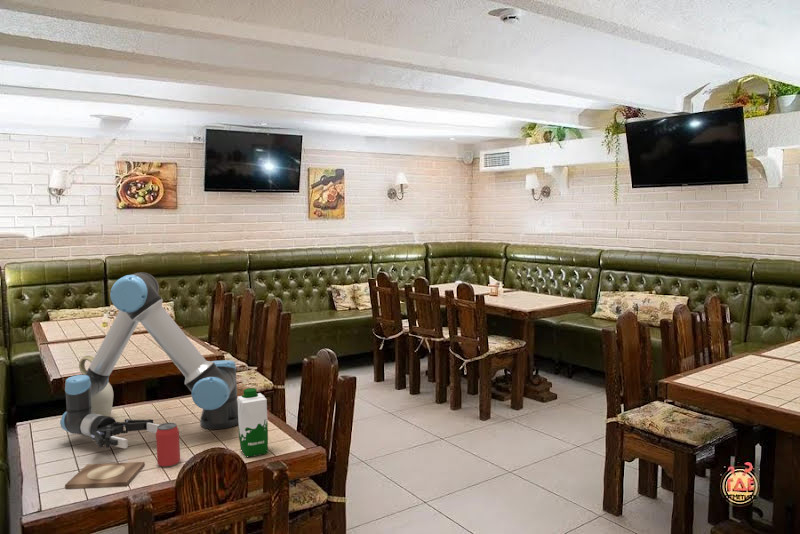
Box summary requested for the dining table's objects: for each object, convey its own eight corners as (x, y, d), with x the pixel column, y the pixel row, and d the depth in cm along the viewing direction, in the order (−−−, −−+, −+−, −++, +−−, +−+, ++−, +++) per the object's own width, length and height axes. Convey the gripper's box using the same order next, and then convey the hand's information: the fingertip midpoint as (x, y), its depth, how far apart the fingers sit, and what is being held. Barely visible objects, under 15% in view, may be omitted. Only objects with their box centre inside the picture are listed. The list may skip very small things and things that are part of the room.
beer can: (172, 468, 182) (170, 430, 181) (153, 467, 183) (150, 428, 182) (184, 459, 188) (182, 422, 187) (165, 458, 189) (163, 421, 188)
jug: (84, 430, 216) (79, 362, 214) (60, 423, 224) (56, 357, 222) (123, 418, 229) (119, 353, 227) (99, 411, 237) (95, 349, 235)
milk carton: (264, 444, 199) (261, 386, 197) (271, 454, 191) (269, 393, 189) (237, 450, 195) (234, 390, 193) (243, 459, 187) (241, 397, 185)
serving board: (144, 465, 184) (144, 460, 184) (127, 486, 170) (126, 480, 170) (87, 468, 183) (87, 463, 183) (65, 488, 169) (64, 483, 169)
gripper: (131, 425, 210) (175, 435, 201) (64, 451, 188) (110, 462, 178) (130, 404, 209) (174, 413, 200) (63, 427, 187) (109, 438, 178)
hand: (144, 436), depth 189 cm, fingers open, 13 cm apart
